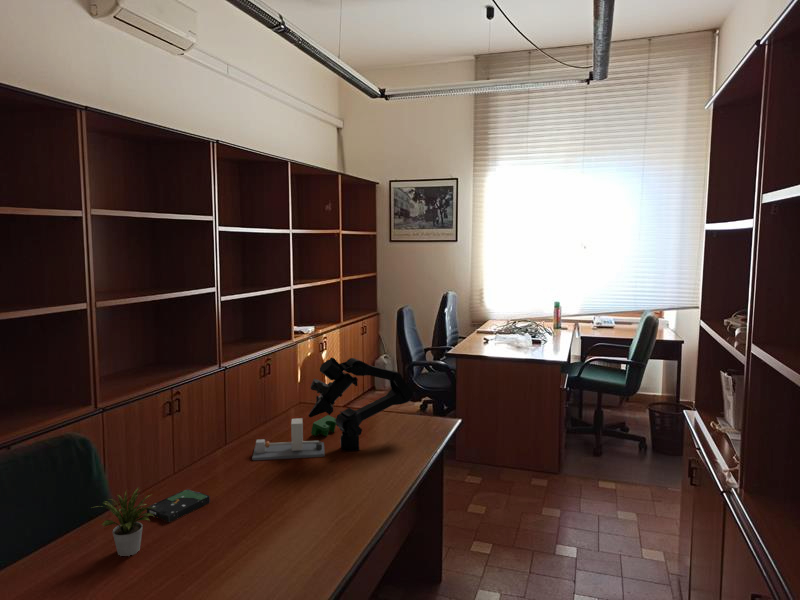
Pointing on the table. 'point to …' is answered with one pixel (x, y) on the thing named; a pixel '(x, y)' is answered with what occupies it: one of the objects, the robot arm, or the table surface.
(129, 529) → the house plant
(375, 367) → the robot arm
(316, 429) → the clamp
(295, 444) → the stepped pale block
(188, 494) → the disk drive
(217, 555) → the table surface
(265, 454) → the flat grey panel
